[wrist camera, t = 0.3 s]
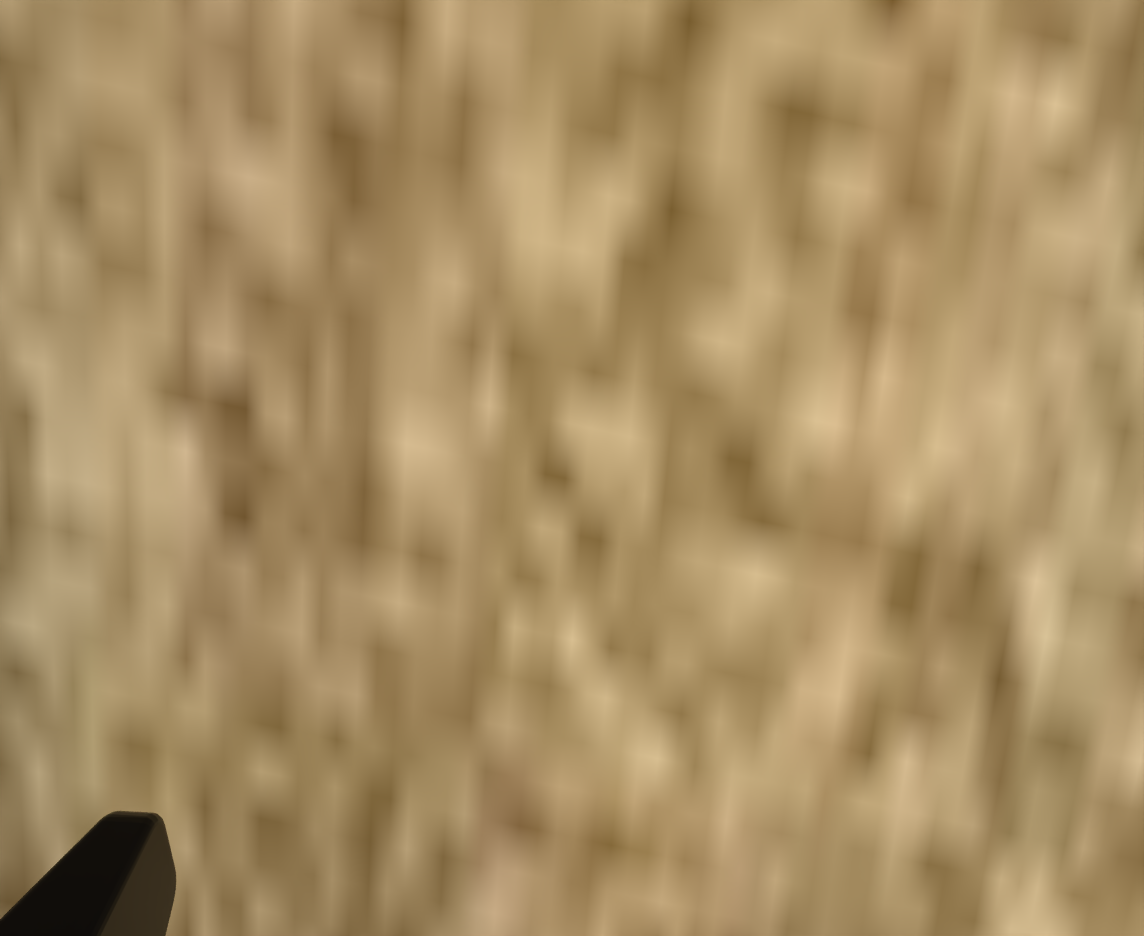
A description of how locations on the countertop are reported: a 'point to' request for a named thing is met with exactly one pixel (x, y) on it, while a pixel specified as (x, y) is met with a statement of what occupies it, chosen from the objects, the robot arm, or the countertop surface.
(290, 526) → the countertop surface
